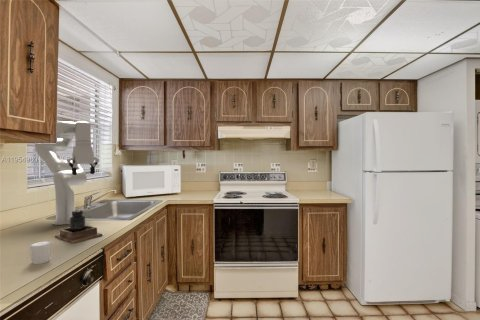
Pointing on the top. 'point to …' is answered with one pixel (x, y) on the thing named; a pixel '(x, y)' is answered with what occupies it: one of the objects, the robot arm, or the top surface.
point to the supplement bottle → (77, 221)
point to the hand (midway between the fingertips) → (83, 174)
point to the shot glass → (40, 252)
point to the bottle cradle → (78, 234)
